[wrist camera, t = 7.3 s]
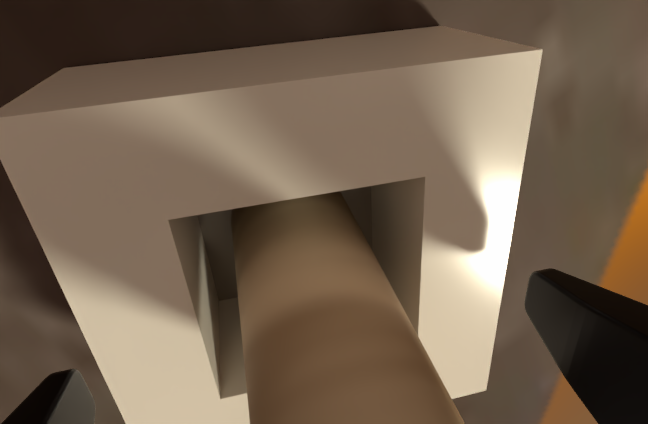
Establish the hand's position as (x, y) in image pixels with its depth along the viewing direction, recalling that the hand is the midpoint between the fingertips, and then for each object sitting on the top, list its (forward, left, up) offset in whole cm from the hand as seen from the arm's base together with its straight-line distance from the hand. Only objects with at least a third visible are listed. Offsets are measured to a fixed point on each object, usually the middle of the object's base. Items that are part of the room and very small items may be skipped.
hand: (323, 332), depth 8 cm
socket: (0, 0, -5) cm, 5 cm away
